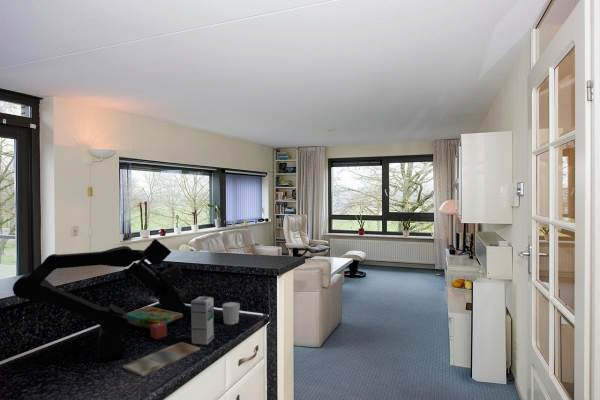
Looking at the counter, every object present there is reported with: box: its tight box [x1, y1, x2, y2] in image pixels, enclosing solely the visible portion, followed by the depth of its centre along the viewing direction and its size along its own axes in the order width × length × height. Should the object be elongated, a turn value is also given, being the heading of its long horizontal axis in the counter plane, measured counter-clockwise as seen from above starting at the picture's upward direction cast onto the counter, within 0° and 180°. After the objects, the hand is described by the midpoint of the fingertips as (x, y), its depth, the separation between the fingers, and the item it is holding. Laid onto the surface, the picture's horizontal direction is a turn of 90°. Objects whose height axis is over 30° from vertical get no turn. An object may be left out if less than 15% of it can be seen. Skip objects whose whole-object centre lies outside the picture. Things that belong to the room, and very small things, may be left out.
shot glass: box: [221, 301, 241, 325], centre depth 144 cm, size 7×7×7 cm
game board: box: [122, 341, 201, 377], centre depth 112 cm, size 21×9×1 cm, turn 148°
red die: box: [150, 322, 168, 340], centre depth 129 cm, size 4×4×4 cm
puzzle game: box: [126, 306, 184, 330], centre depth 142 cm, size 12×5×20 cm
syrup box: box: [190, 296, 215, 345], centre depth 125 cm, size 6×6×14 cm
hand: (184, 305), depth 122 cm, fingers open, 9 cm apart
